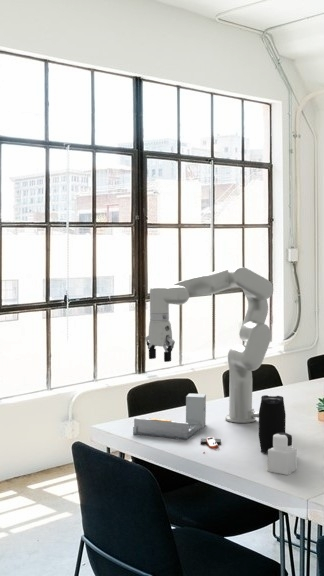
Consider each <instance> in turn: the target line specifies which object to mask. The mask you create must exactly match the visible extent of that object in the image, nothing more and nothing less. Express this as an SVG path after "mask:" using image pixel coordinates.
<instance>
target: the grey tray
mask: <svg viewBox="0 0 324 576" xmlns="http://www.w3.org/2000/svg"><path fill="white" fill-rule="evenodd" d="M133 419H134V421H133V423H134V425H133V427H132V434H133V435H135V436H136V435H137V436H145V437H146V436H147V437H155V438H162V439H163V438H164V439H170V440H171V439H173V440H183V441H188V440H189V439H191V438H192V437H194V435H196V434H197V433H199V432H200V431H201V428H200V423H197V424H195V425H189V423H186V422H183V421H182V422H181V421H172V420H171V419H160V418H159V419H158V418H141V417H140V418H139V417H134V418H133Z"/></svg>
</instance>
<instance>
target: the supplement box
mask: <svg viewBox="0 0 324 576" xmlns="http://www.w3.org/2000/svg"><path fill="white" fill-rule="evenodd" d="M206 402H207V395H206V393H188V394H187V395H186V396H185V423H189V425H195V424H197V423H200V429H204V427H205V426H206V423H207V422H206V417H207V416H206V415H207V414H206V413H207V406H206V405H207V403H206Z"/></svg>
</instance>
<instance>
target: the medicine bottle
mask: <svg viewBox="0 0 324 576" xmlns="http://www.w3.org/2000/svg"><path fill="white" fill-rule="evenodd" d="M297 453H298V449H297V448H296V447H293V436H292V435H291V434H290V433H287V432H285V433H276V434H274V435H273V448H271V449H269V450H268V452H267V471H268V472H270V473H275V474H279V475H280V474H281V475H284V476H288V475H290V474H292V473H293V472H295V471H297V469H298V468H297V464H298V463H297V461H298V459H297V458H298V456H297V455H298V454H297Z"/></svg>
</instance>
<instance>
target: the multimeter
mask: <svg viewBox="0 0 324 576" xmlns="http://www.w3.org/2000/svg"><path fill="white" fill-rule="evenodd" d="M221 441H222V439H221V438H215V437H214V436H208V437H206V438H202V437H201V438H200V445H201V446H202V445H203V446H205V445H207V446H208V448H209V449H213V450H214V451H216V452H217V451H218V450H216V449H220V447H219V446H221V445H222V443H221ZM202 454H206V453H205V451H203V453H202Z"/></svg>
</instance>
